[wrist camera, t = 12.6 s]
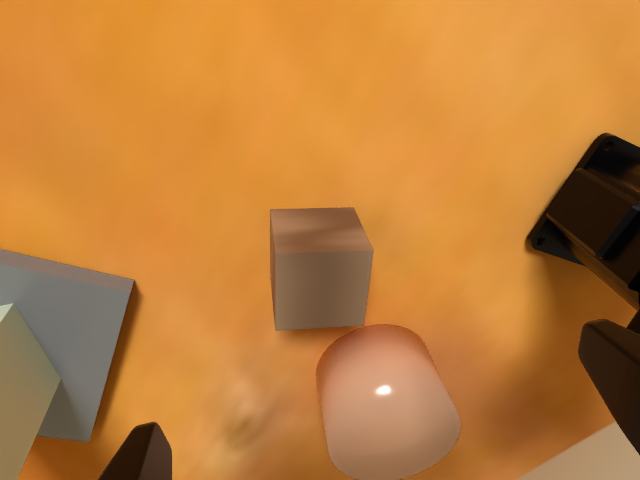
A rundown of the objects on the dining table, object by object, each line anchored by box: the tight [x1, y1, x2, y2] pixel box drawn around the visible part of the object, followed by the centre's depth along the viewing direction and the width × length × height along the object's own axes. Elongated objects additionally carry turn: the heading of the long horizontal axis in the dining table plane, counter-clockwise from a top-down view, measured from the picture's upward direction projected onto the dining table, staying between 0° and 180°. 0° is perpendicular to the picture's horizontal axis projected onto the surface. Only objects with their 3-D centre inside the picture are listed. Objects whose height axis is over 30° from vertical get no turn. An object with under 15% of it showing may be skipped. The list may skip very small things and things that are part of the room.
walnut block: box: [270, 208, 373, 331], centre depth 21 cm, size 4×4×4 cm
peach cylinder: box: [316, 324, 461, 480], centre depth 26 cm, size 7×7×5 cm
